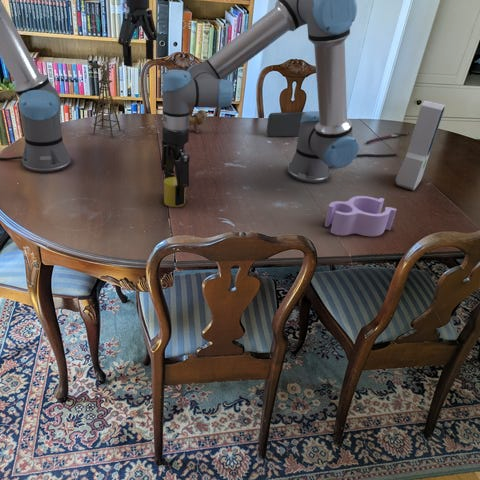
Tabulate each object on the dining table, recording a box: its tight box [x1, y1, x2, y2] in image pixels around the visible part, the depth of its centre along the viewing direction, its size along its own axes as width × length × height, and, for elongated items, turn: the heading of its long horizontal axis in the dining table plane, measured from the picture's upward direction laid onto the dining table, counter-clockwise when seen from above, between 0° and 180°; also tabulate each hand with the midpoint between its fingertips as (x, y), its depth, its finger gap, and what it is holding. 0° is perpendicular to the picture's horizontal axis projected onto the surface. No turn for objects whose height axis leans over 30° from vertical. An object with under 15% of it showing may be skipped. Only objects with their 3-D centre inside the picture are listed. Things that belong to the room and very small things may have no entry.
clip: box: [324, 195, 398, 237], centre depth 141 cm, size 20×12×7 cm, turn 109°
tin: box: [163, 176, 186, 208], centre depth 144 cm, size 7×7×7 cm
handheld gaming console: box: [266, 111, 306, 137], centre depth 203 cm, size 23×3×10 cm, turn 108°
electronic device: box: [395, 100, 447, 191], centre depth 166 cm, size 12×8×30 cm, turn 148°
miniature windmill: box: [91, 55, 122, 138], centre depth 181 cm, size 9×8×30 cm
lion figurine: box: [189, 109, 207, 134], centre depth 196 cm, size 15×5×9 cm, turn 110°
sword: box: [365, 132, 410, 145], centre depth 213 cm, size 31×3×1 cm, turn 126°
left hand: (139, 62), depth 164 cm, fingers open, 13 cm apart
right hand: (174, 199), depth 145 cm, fingers closed on tin, 7 cm apart
